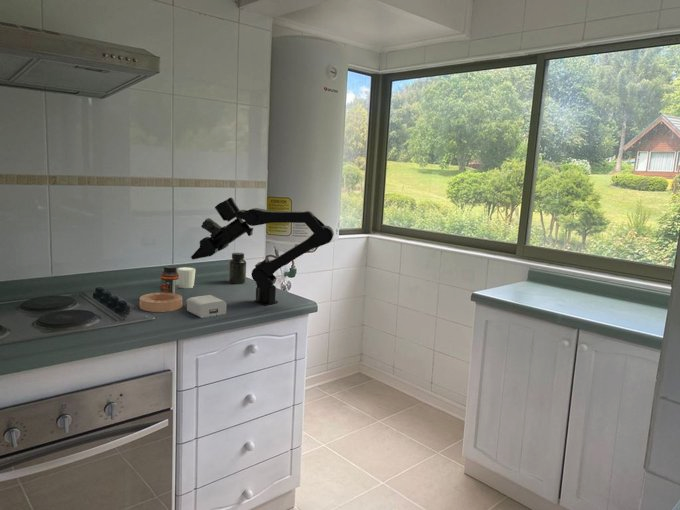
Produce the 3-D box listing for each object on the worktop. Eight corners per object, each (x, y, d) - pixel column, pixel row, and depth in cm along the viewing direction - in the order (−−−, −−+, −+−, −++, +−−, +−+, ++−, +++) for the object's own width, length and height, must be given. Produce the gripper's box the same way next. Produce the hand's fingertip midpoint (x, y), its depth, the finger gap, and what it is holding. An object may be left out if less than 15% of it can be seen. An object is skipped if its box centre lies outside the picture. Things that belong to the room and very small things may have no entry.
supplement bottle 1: (156, 298, 179) (157, 266, 177) (167, 295, 184) (167, 263, 182) (171, 301, 177) (172, 268, 175) (181, 297, 183) (182, 265, 181)
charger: (202, 304, 177) (226, 314, 166) (177, 307, 171) (200, 319, 160) (203, 290, 176) (226, 300, 166) (177, 293, 170) (200, 304, 159)
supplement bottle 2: (240, 280, 216) (241, 251, 214) (248, 283, 210) (249, 254, 208) (225, 281, 211) (226, 252, 209) (233, 285, 206) (234, 255, 204)
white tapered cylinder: (190, 289, 195) (190, 271, 193) (173, 287, 196) (173, 269, 194) (198, 285, 201) (198, 267, 200) (181, 283, 202) (181, 266, 201)
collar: (190, 306, 171) (190, 298, 171) (156, 314, 161) (156, 305, 160) (165, 299, 179) (165, 290, 178) (131, 305, 168) (131, 296, 168)
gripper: (225, 210, 188) (191, 233, 190) (210, 215, 170) (172, 240, 171) (242, 236, 189) (208, 258, 191) (229, 243, 171) (192, 268, 173)
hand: (195, 256), depth 182 cm, fingers open, 9 cm apart
